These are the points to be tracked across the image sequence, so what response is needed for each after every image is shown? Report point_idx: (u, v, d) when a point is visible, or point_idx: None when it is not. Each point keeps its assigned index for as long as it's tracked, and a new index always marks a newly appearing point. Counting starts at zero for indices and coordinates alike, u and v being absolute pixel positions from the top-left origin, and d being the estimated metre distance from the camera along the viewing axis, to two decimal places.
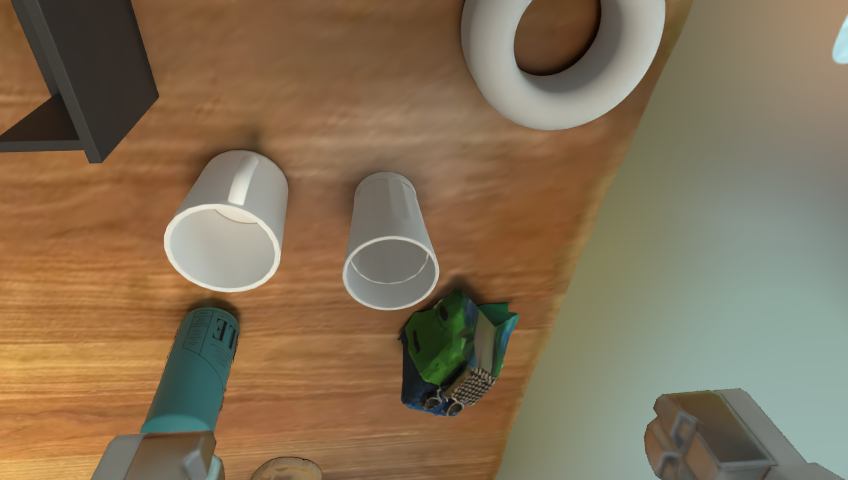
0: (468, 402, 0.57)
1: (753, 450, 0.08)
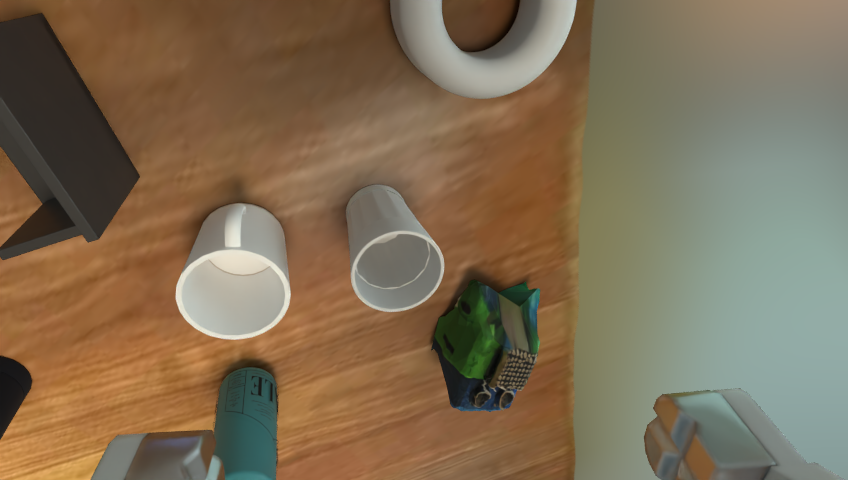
0: (516, 387, 0.56)
1: (753, 450, 0.08)
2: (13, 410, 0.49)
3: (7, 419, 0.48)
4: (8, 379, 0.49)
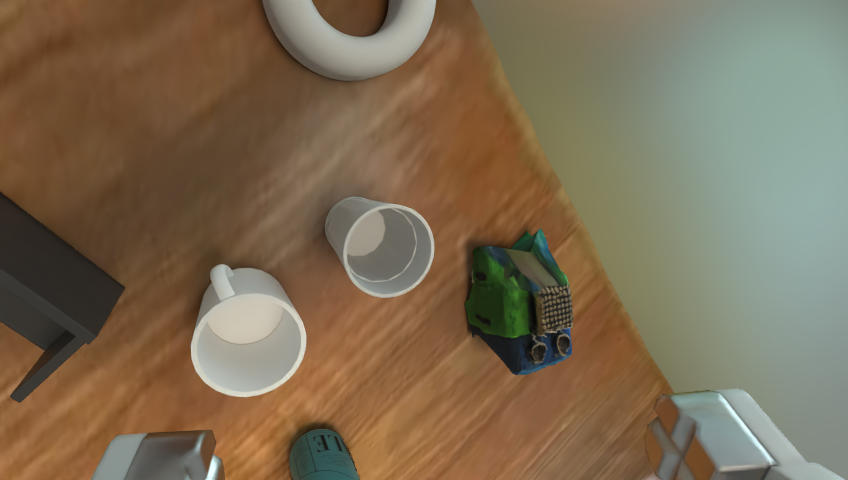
0: (566, 325, 0.54)
1: (753, 450, 0.08)
2: None
3: None
4: None
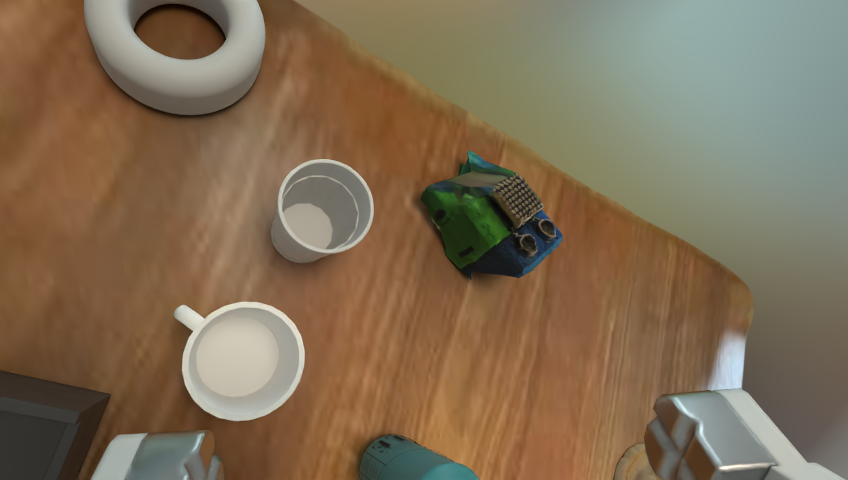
0: (537, 207, 0.53)
1: (753, 450, 0.08)
2: None
3: None
4: None
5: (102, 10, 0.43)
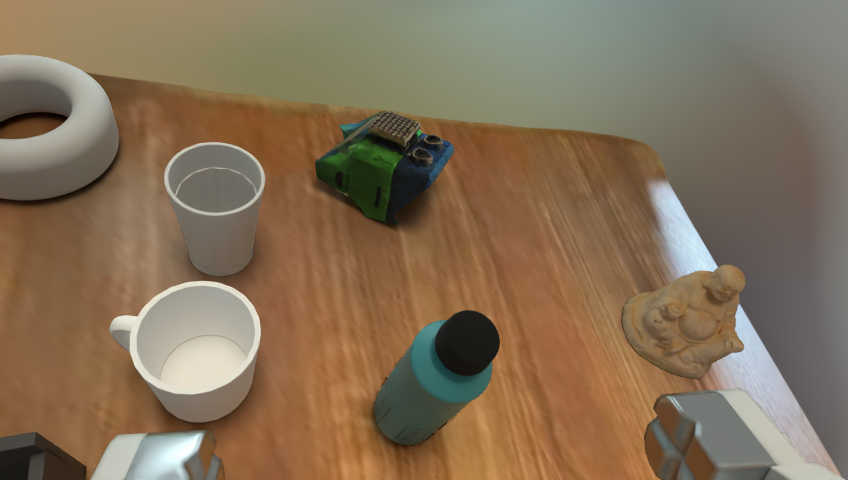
0: (414, 126, 0.57)
1: (753, 450, 0.08)
2: None
3: None
4: None
5: None
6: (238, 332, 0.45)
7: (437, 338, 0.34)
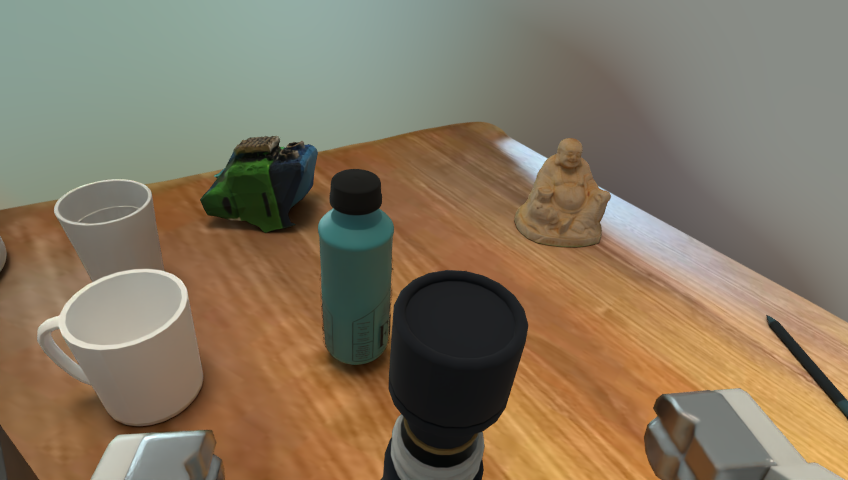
0: (273, 138, 0.65)
1: (753, 450, 0.08)
2: None
3: None
4: None
5: None
6: None
7: (330, 199, 0.40)
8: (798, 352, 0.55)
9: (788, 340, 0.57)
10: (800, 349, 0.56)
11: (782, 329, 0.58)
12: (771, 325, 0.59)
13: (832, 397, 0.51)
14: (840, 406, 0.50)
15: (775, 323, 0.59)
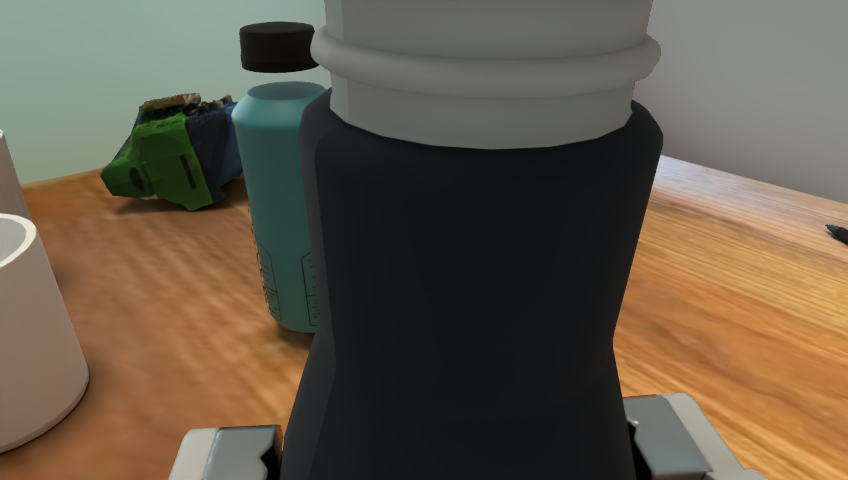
0: (191, 94, 0.52)
1: (690, 455, 0.08)
2: None
3: None
4: None
5: None
6: None
7: (241, 59, 0.27)
8: None
9: None
10: None
11: None
12: (836, 234, 0.47)
13: None
14: None
15: (841, 230, 0.47)
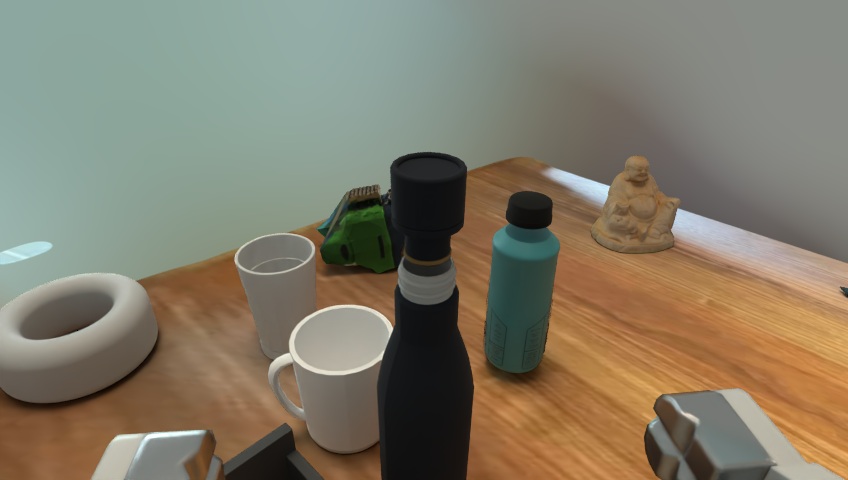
0: (376, 186, 0.71)
1: (753, 450, 0.08)
2: None
3: None
4: None
5: (12, 346, 0.47)
6: (356, 360, 0.50)
7: (510, 218, 0.45)
8: None
9: None
10: None
11: None
12: None
13: None
14: None
15: None
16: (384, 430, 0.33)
